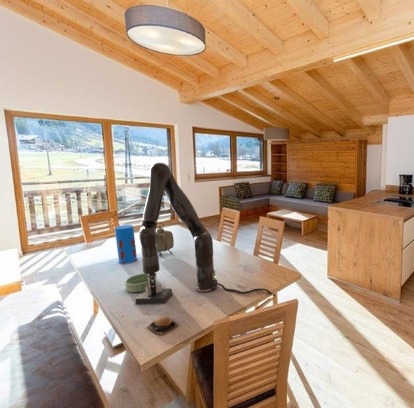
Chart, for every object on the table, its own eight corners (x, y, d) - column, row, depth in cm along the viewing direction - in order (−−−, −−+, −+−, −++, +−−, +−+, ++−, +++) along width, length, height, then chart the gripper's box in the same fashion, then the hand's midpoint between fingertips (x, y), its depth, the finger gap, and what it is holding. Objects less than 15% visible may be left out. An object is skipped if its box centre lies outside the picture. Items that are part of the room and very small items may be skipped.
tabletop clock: (174, 253, 212) (172, 221, 208) (166, 257, 204) (163, 224, 199) (158, 251, 215) (155, 220, 210) (149, 256, 206) (146, 223, 202)
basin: (160, 280, 167) (159, 273, 166) (148, 292, 152) (147, 284, 151) (135, 281, 166) (134, 273, 165) (120, 293, 151) (119, 285, 150)
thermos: (130, 263, 192) (126, 229, 187) (115, 263, 192) (110, 229, 187) (140, 257, 202) (136, 225, 198) (125, 257, 203) (121, 224, 198)
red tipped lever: (160, 290, 149) (159, 282, 148) (161, 291, 148) (160, 283, 147) (146, 295, 144) (145, 286, 143) (147, 296, 142) (146, 287, 142)
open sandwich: (146, 328, 122) (145, 320, 121) (165, 318, 129) (164, 311, 128) (160, 336, 116) (159, 328, 116) (178, 325, 123) (177, 318, 123)
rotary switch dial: (172, 293, 152) (172, 287, 152) (163, 303, 141) (163, 298, 141) (146, 293, 151) (145, 288, 151) (135, 304, 140) (134, 299, 140)
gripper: (159, 266, 139) (162, 297, 142) (158, 256, 151) (160, 285, 154) (142, 269, 135) (145, 301, 138) (142, 259, 147) (145, 289, 150)
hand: (153, 292), depth 146 cm, fingers open, 4 cm apart
